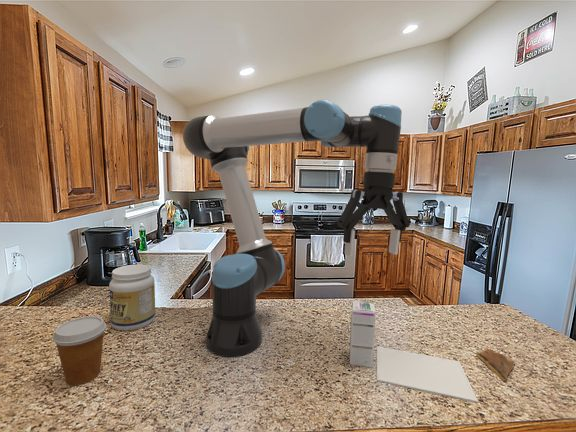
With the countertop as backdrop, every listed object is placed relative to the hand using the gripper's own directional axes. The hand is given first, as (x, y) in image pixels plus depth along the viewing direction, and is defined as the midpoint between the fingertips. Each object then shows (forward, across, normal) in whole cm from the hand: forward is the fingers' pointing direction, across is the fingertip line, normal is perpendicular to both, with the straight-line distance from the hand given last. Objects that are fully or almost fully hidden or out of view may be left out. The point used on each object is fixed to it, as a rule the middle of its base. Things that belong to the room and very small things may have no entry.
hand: (371, 254), depth 74 cm
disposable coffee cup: (+28, -67, +9) cm, 73 cm away
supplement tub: (+29, -60, +33) cm, 75 cm away
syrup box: (+26, -3, -4) cm, 27 cm away
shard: (+26, +30, -17) cm, 43 cm away
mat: (+26, +8, -12) cm, 30 cm away
